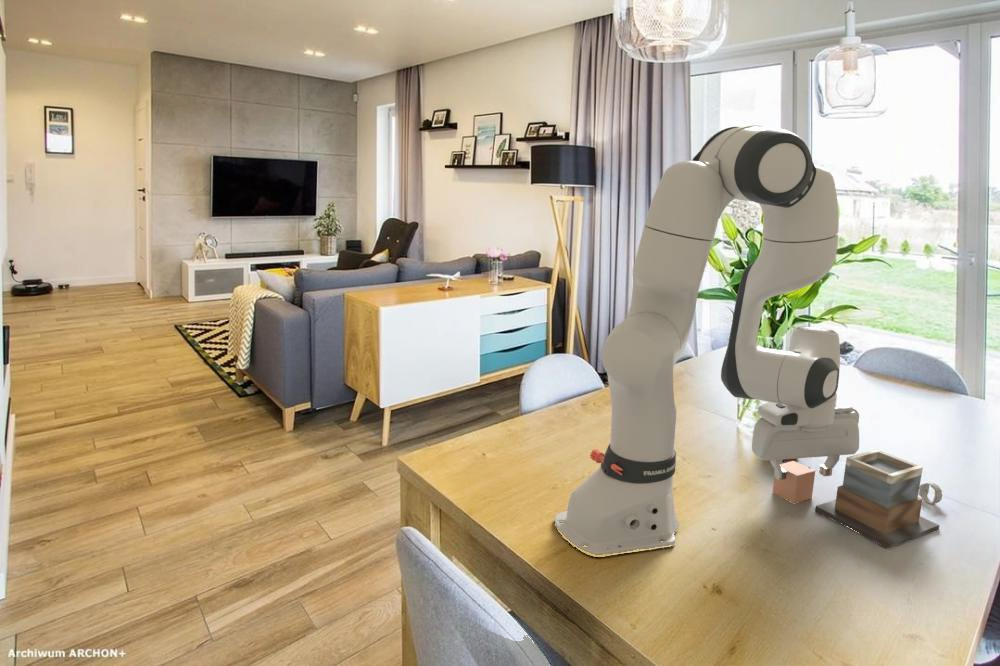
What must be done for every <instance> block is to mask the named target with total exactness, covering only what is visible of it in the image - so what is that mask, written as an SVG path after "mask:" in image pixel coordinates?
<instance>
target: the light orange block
mask: <svg viewBox="0 0 1000 666" xmlns="http://www.w3.org/2000/svg"><path fill="white" fill-rule="evenodd" d="M779 465H780V467H781V468H782V469H783V470H785V471H786V472H787V475H786V479H784V480H777V479H776V478H775V477H774V476H773V478H774V479H773V485H772V493H773V494H774V495H776V496H778V495H779V496H778V497H780V496H781V497H783V498H785V499H787V500H788V502H789V501H791V502H792V503H791V502H790V503H791V504H793V503H796V504H798V503H797V502H799V503H802V502H805V501H804V500H806V501H809V500H812V499H813V492H814V485H815V483H814V482H815V476H816V470H814V469H813V468H810V467H807V466H806V465H804V464H801V463H799V462H797V461H796V460H793V461H786V462H782V464H779ZM781 497H780V498H781ZM783 498H782V499H783ZM811 498H812V499H811ZM785 499H784V500H785ZM808 499H809V500H808ZM787 500H786V501H787ZM801 501H802V502H801Z"/></svg>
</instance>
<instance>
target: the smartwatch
mask: <svg viewBox="0 0 1000 666" xmlns="http://www.w3.org/2000/svg"><path fill="white" fill-rule="evenodd" d="M930 487H931V488H932V489H933V490H934V497H933V500H931V499H929V497H928V495H929V491H930ZM918 496H920V498H921V499H923V500H922V501H924V502H925V503H927V504H928V503H929V505H935V504H937V503H940V502H941V501H942V498H943V490H942V489H941V487H940V485H938V484H936V483H935V482H925V483H923V484H920V487H919V493H918Z"/></svg>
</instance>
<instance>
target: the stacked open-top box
mask: <svg viewBox="0 0 1000 666" xmlns="http://www.w3.org/2000/svg"><path fill="white" fill-rule="evenodd" d="M845 460H846V461H845V468H844V474H843V482H842V485H839V486H837V487H836V488H837V489H836V490H837V491H836V496H835V497H836V498H835V499H834V500H831V501H828V502H827V501H826V502H823V503H820V504H817V505H815V508H814V510H816V511H815V512H817V513H819V514H821V515H823V516H824V515H825V517H826V516H827V518H828V517H829V518H828V519H830V518H831V519H830V520H832V519H833V520H832V521H834V520H835V521H834V522H836V521H837V522H836V523H838V522H839V523H838V524H840V523H842V524H843V525H845V526H848V527H849V528H852V529H853V530H855V531H857V532H859V533H860V534H859V533H858V534H859V535H861V534H862V535H863V537H864V536H865V537H864V538H866V537H867V538H866V539H868V538H869V540H870V539H871V540H870V541H872V540H873V541H872V542H874V541H875V542H874V543H876V542H877V543H876V544H878V543H879V544H878V545H880V544H881V545H883V546H884V548H885V547H886V548H885V549H887V548H888V550H890V549H893V548H894V547H897V545H898V546H900V545H903V544H906V543H908V542H910V540H911V541H913V540H916V539H918V538H922V537H924V535H925V536H927V535H930V534H932V532H933V533H935V532H937V530H938V531H939V530H940V524H938V523H936V522H934V521H932V520H929V519H927V518H925V517H923V516H921V510H922V504H923V501H924V500H923V499H922V498H921V497H919V487H920V485H921V480H922V474H923V469H924V467H923V466H920V465H918V464H917V463H916V464H915V463H913V462H910V461H908V460H905V459H902V458H900V457H897V456H894V455H892V454H889V453H887V452H884V451H881V450H879V449H877V448H876V449H873V450H869V451H866V452H865V451H864V452H861V453H859V454H853V455H849V456H846V458H845ZM842 524H841V525H842ZM843 525H842V526H843ZM845 526H844V527H845ZM849 528H848V529H849ZM853 530H852V531H853ZM855 531H854V532H855ZM934 531H935V532H934ZM857 532H856V533H857ZM929 533H930V534H929ZM926 534H927V535H926ZM862 535H861V536H862ZM921 536H922V537H921ZM907 541H908V542H907ZM905 542H906V543H905ZM902 543H903V544H902ZM881 545H880V546H881ZM883 546H882V547H883ZM889 548H890V549H889Z"/></svg>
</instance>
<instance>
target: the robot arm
mask: <svg viewBox="0 0 1000 666" xmlns="http://www.w3.org/2000/svg"><path fill="white" fill-rule="evenodd" d="M834 179H835V178H834V176H833V175H832V173H831V172H830V171H829V170H828V169H827V168H824V167H822V166H821V165H816V164H814V162H813V157H812V155H811V152H810V149H809V147H808V146H807V144H806V142H805V141H804V140H803V139H802V138H801V137H799V135H797V134H795V133H794V132H792V131H789V130H787V129H782V128H777V127H776V128H775V127H774V128H771V127H765V126H761V125H755V124H754V125H743V126H731V127H727V128H724V129H721V130H720V131H718V132H716V133H714V134H713V135H712V136H711V137H710V138H709V139H707V141H706V142H705V143H704V145H703V146H702V147H701V148H700V150H699V152H697V153H696V154H695V156H694V157H693V158H692V159H691V160H683V161H679V162H676V163H674V164H672V165H670V166H669V167H668V168H667V169H666V170H665V171H664V172H663V174H662V177H660V180H659V183H658V185H657V187H656V190H655V192H654V194H653V197H652V200H651V202H650V205H649V208H648V211H647V215H646V218H645V222H644V226H643V229H642V234H641V236H640V240H639V244H638V248H637V252H636V257H635V261H634V264H633V268H632V292H631V300H630V307H629V309H628V314H627V316H626V318H625V320H623V321H622V322H621V321H620V323H618V324H616V325H615V326H614V328H613V329H611V331H610V333H609V334H608V336H607V338H606V339H605V342H604V345H603V348H602V352H601V361H602V365H603V368H604V370H605V373H606V375H607V380H608V387H609V394H610V401H611V417H610V419H611V420H610V422H611V423H610V442H609V444H608V446H607V448H606V451H605V453H603V452H601V451H600V450H599V449H596V448H594V449H593V450H591V452H590V455H589V458H590V459H591V460H592V461H594V462H595V463H597V464H600V467H599V468H598V469H596V470H595V471H594V472H593V473H592V474H591V475H590V476H589V477H588V478H587V479H585V480H584V481H583V482H582V483H581V484H580V485H579V486H578V487H576V488H574V490H573V491H572V492H571V493H570V496H569V499H568V504H567V510H564V511H561V512H559V513H557V514H555V517H554V521H555V524H556V527H557V528H558V530H559V531H560V532H561V533H562V534H563V535H564V536H565V537H566V538H567V539H568V540H569V541H570V542H572V543H573V544H574V545H576V546H577V547H578V548H580V549H582V550H584V551H586V552H589V553H591V554H595V555H603V554H605V555H606V554H613V553H621V552H627V551H633V550H637V549H639V550H640V549H649V548H655V547H662V546H669V545H674V544H675V545H676V536H675V535H674V534H676V533H677V532H676V530H677V528H678V529H679V522H678V518H677V515H676V509H675V501H674V485H673V484H674V482H673V481H674V480H673V478H674V475H675V473H676V467H677V466H676V462H677V461H676V458H677V453H676V450H675V440H676V425H677V422H676V421H677V407H676V403H675V393H674V370H675V366H676V363H677V361H678V360H679V359H680V357H682V355H683V353H684V352H685V350H686V348H687V344H688V341H689V338H690V333H691V327H692V324H693V320H694V315H695V311H696V306H697V301H698V296H699V291H700V290H699V289H700V287H701V283H702V280H703V276H704V274H705V270H706V266H707V263H708V259H709V255H710V253H711V248H712V247H713V242H714V240H715V235H716V233H717V232H716V231H717V227H718V222H719V219H720V218H721V216H722V214H723V213H724V210H725V209H726V208H727V206H728V205H729V204H730V203H731V202H732V201H733V200H734V199H736V200H741V201H745V202H746V201H747V202H753V203H756V204H759V206H760V208H761V211H762V217H763V225H762V227H763V229H762V245H761V249H760V253H759V255H758V257H757V258H756V260H755V261H753V262H751V263H749V264H748V265H746V267H745V269H744V271H743V273H742V275H741V278H740V281H739V284H738V285H739V286H738V290H737V294H736V299H735V304H734V309H733V310H734V311H733V315H732V321H731V326H730V332H729V338H728V344H727V348H726V350H725V351H726V352H725V354H724V358H723V360H722V361H723V362H722V366H721V370H720V379H721V383H722V384H723V386H724V387H725V389H726V390H727V391H728V392H729V393H730V394H731V395H732V396H733V397H734V398H740V399H749V400H759V401H763V402H766V403H763V404H761V405H759V406H758V408H757V414H758V416H760V418H759V419H757V420H756V422H755V424H754V428H753V434H752V441H751V451H752V453H753V454H754V455H755V456H756V457H757V458H758V459H760V460H762V461H764V462H767V461H769V462H770V464H771V466H772V468H773V469H774V471H773V472H774V474H773V478H774V477H775V478H776V479H777V480H784V479H786V475H787V472H786V471H785V470H783V469H782V468H781V467H780V465H779V464H783V462H784V461H783V459H795V460H797V459H807V458H809V459H810V458H821V457H824V458H825V457H827V458H826V459H825V462H824V463H823V464H819V470H818V471H819V475H820V476H822V477H831V476H832V475H833V468H834V467H835V466H836V465H837V463H838V462H839V461H840V456H847V455H849V456H851V455H856V453H857V452H858V451H859V448H860V427H859V420H860V413H859V412H858V411H857V409H855V408H853V406H844V407H837V400H838V399H837V391H838V388H839V387H838V386H839V380H840V379H839V378H840V370H841V369H840V368H841V367H840V366H841V365H840V363H841V347H840V346H841V344H840V336H839V333H837V332H836V331H835V330H833V329H830V328H822V327H814V326H813V327H811V326H798V327H795V328H793V331H792V334H791V337H790V342H789V347H788V350H782V349H775V348H768V347H764V346H761V345H760V344H759V343H758V342H757V340H758V334H759V328H760V323H761V319H762V313H763V308H764V305H765V303H766V301H767V300H768V299H770V298H773V297H776V296H780V295H784V294H787V293H790V292H795V291H799V290H801V289H804V288H806V287H808V286H811V285H813V284H815V283H817V282H818V281H821V279H824V277H825V276H826V275H827V274H828V273H829V272H831V270H832V268H833V266H835V261H836V257H837V253H838V245H839V227H840V226H839V224H840V223H839V218H840V217H839V205H838V203H839V202H838V195H837V189H836V184H835V180H834ZM559 523H563V524H559ZM555 524H554V525H555ZM677 531H678V530H677ZM675 532H676V533H675ZM661 541H663V542H661ZM584 545H586V546H588V547H583V546H584Z"/></svg>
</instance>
